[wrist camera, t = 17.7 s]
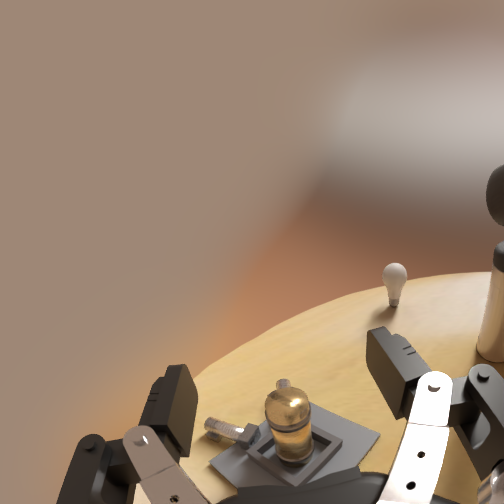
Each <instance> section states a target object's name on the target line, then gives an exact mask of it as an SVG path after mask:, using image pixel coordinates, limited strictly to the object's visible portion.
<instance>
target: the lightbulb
mask: <svg viewBox="0 0 504 504" xmlns="http://www.w3.org/2000/svg"><path fill="white" fill-rule="evenodd" d="M382 279H383V282H384V284H385V286H386V288H387V290H388V297H389V304H390V305H391V306H393V307H394V306H397V305H398V304H399V297H400V295H401V290H402V288H403V286H404V284H405V282H406V280H407V272H406V270H405V268H404V267H403V266H402V265H400V264H398V263H392V264H389V265H388V266H387V267H386V268H385V269H384V271H383V276H382Z"/></svg>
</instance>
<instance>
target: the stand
mask: <svg viewBox="0 0 504 504" xmlns="http://www.w3.org/2000/svg"><path fill="white" fill-rule="evenodd" d="M309 403H310V405H311V419H310V423H311V434H312V439H313V441H314V452H313V457H312V459H311V460H310V461H309V462H308V463H307V464H306V465H304V466H302V467H298V468H291V467H287V466H285V465H283V464H282V463H281V461H280V460H279V458H278V457H277V454H276V451H275V441H274V438H273V434H272V430H271V427H270V426H269V425H268V423H267V420H265V421H264V422H263V423H262V424H260V425H259V430H260V433H261V437H260V439H259V440H258V442H257V443H256V444H255V445H253V446H252V447H251V448H249V449H248V450H245V449H242V448H241V446H240V444H239V442H236V443H235V444H233V445H232V446H231V447H229V448H228V449H226V450H225V451H223V452H222V453H221V454H219V455H218V456H216V457H215V458H213V459H211V460H210V461H209V462H210V464H211V465H212V466H213V467H214V468H215V469H216V470H217V471H218V472H219V473H220V474H221V475H222V476H224V477H225V478H226V479H227V480H228V481H229V482H230V483H231V484H232V485H233V486H235V487H236V488H237V489H238V487H250V486H261V485H277V486H302V485H305V484H307V483H310V482H312V481H314V480H317V479H319V478H321V477H323V476H326V475H328V474H330V473H334V472H338V471H342V470H346V469H349V468H353V467H356V466H358V465H359V463H360V462H361V461H362V460H363V458H364V457H365V456H366V455H367V453H368V452H369V451H370V449H371V448H372V447H373V446H374V444H375V443H376V441H377V440H378V439H379V437H380V433H378V432H375V431H373V430H370V429H368V428H366V427H363V426H361V425H358V424H356V423H354V422H352V421H349V420H347V419H345V418H343V417H340V416H338V415H336V414H334V413H332V412H330V411H327V410H325V409H323V408H321V407H319V406H317V405H315V404H313V403H311V402H309Z"/></svg>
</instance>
